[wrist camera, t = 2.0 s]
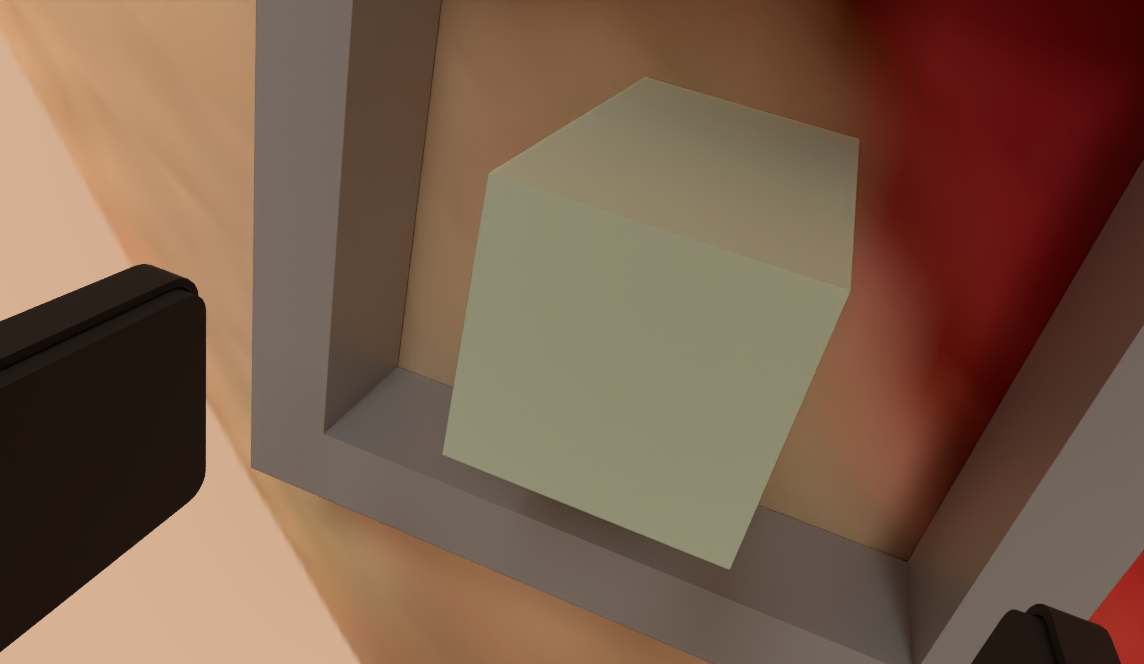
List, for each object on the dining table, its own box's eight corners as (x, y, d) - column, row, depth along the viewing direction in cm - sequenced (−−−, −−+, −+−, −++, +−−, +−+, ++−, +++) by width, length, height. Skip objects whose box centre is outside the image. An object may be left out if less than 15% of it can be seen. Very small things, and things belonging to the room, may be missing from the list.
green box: (645, 76, 17) (488, 172, 10) (859, 139, 16) (850, 291, 9) (597, 267, 19) (442, 454, 12) (783, 331, 18) (730, 569, 11)
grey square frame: (386, -399, 14) (261, -486, 12) (1520, -187, 11) (1754, -232, 8) (329, 399, 23) (250, 467, 20) (953, 648, 20) (968, 772, 17)
